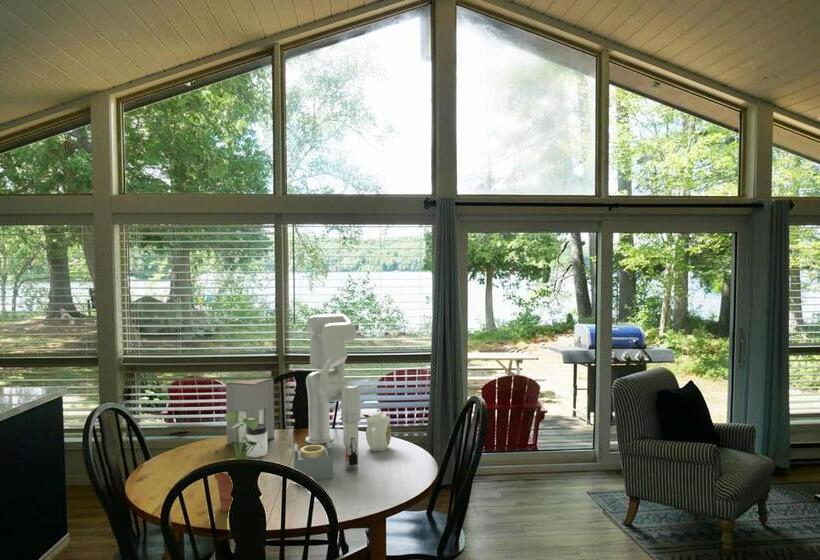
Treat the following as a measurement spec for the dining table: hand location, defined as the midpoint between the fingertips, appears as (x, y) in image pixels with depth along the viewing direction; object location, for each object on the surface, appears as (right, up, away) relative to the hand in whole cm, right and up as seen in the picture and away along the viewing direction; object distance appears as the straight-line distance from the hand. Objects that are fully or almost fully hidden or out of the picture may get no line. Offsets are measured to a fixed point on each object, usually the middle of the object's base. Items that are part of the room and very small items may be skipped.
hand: (351, 460), depth 201 cm
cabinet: (-49, -4, +32) cm, 59 cm away
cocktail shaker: (0, -3, 0) cm, 3 cm away
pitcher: (+9, -3, +23) cm, 25 cm away
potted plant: (-34, -4, -31) cm, 46 cm away
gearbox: (-14, -4, -5) cm, 15 cm away
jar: (-43, -4, +19) cm, 47 cm away
